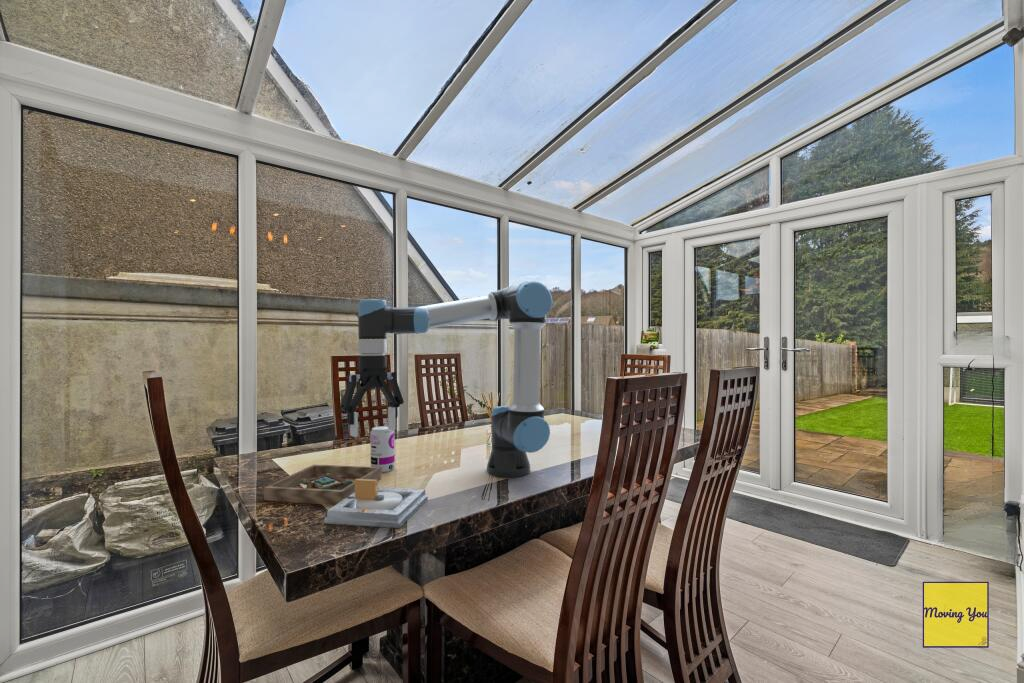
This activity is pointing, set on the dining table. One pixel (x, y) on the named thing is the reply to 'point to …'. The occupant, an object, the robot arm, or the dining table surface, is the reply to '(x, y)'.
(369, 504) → the dial
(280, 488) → the book tray
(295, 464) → the dining table surface
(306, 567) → the dining table surface
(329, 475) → the decorative book
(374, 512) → the dial panel
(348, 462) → the dining table surface
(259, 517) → the dining table surface
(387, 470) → the supplement can
